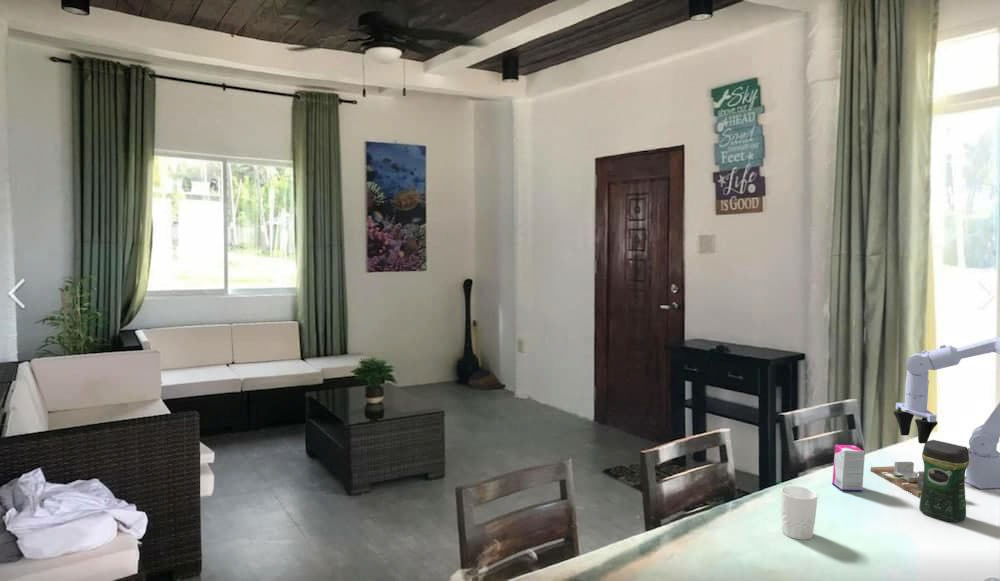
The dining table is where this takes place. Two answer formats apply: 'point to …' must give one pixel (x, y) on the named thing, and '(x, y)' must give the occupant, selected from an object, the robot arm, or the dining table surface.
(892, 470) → the gauge frame
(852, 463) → the supplement box
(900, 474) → the brushed steel block
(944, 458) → the coffee jar
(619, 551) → the dining table surface
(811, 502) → the white cup
